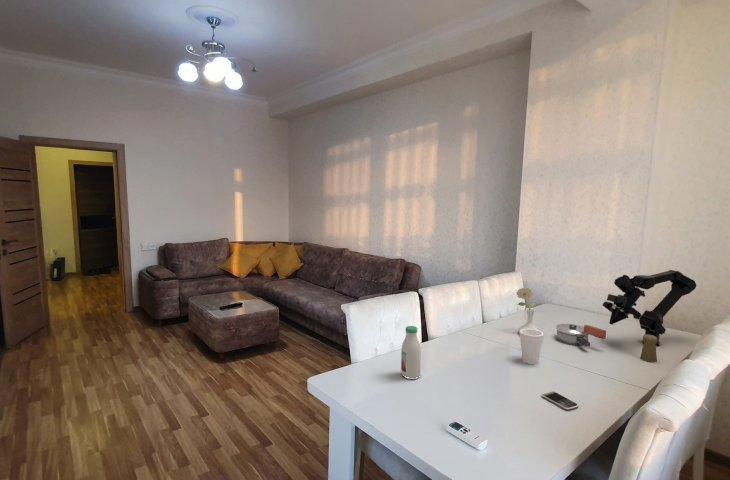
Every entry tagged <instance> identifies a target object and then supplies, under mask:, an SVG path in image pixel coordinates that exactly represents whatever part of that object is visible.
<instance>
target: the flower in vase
mask: <svg viewBox="0 0 730 480" xmlns="http://www.w3.org/2000/svg"><path fill="white" fill-rule="evenodd" d="M515 293H516V296H517V297H518V298H519V299H523V300H524V302H523V301H520V302H518V303H517V306H520V307H524V306H526V308H525V311H526V313H527V322H526V323H525V324H523V325H521V326H520V327H519V328H518V329H517V332H518V333H519V334H520V330H522V329H534V330H538V331H541V330H540V329H539V327H538V326H536V325H535V324H534V323H533V316H534V313H535V312H536V308H533V307H534V306H535V305H536V304H537V302H534V303H529V305H528V304H527V299H530V298H531V297H532V296H533V291H532V289H530V288H529V287H521V288H519V289H518V290H517V291H516V292H515Z"/></svg>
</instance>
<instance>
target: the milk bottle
mask: <svg viewBox="0 0 730 480" xmlns="http://www.w3.org/2000/svg"><path fill="white" fill-rule="evenodd" d="M417 334H418V327H417V326H414V325H407V326H405V338H404V340H403V342H402V344H401V353H400V354H401V359H400V365H401V366H400V375H401V374H402V375H404V376H406V377H409V378H416V377H419V376H420V377H421V372H422V371H421V369H422V368H421V364H422V363H421V360H422V356H421V355H422V352H421V351H422V350H421V349H422V348H421V343H420V341H419V339H418V335H417ZM402 375H401V376H402ZM420 377H419V378H420Z"/></svg>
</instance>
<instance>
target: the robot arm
mask: <svg viewBox="0 0 730 480" xmlns="http://www.w3.org/2000/svg"><path fill="white" fill-rule="evenodd" d="M665 282H670V283H671V285H670V287H671V289H670V291H669V292H668V293H667V294H666V295H665V296H664V297H663V298H662V299H661V300H660V302H659V303H658V304H657V305H656V306H655V307H654V308H653V309H652V310H648V309H647V310H646V309H645V310H644V312H643V313H642V314H641V312H640V311H638V310H637V309H636V308H635V307H637V305H638V304H637V301H638V300H639V299H640V297H644V298H645V297H646V293H645V291H644V290H649V289H652V288H654V287H655V285H658V284H661V283H665ZM613 284H614V285H615V287H617V288H618V289H619V290H620V291H621V292H622V293H623V294H617V295H615V294H612V293H611V294H610V293H609V294H608V295H607V297H606V301H604V302H603V303H602V304H601V305H602V306H603V307H604V308H605V309H607V310H608V311H609V312H610V313H611V314H610V319H609V324H610V325H615V324H616V323H618V322H621V321H623V320H626V319H629V318H630V317H629V316H630V315H632V316H633V319H636V320H639V321H638V322H639V326H640V329H641V330H644V335H653V336H655V337H657V343H656V347H660V345H661V341H660V336H661V335H664V334H665V333H666V327H664V326H663V324H664V317H665V316H666V315H667V314H668V312H669V311H671V309H672V308H673V307H674V306H675V305H676V303H677V302H679V300H680V299H681V298H682V297H683V296H686V295H689V294H690V293H692V292H693V291H694V290H695V289H696V287H697V283H696V282H695V280H694V279H692V278H690V277H688V276H687V275H684V274H683V273H682V272H681V271H679V270H673V269H669V270H667V271H663V272H659V273H655V274H651V275H644V274H640V275H639V274H638V275H633V276H632V277H631V278H630V276H629V275H627V274H623V275H622V276H618V277H617V278H615V279H614V282H613ZM641 289H643V290H641ZM633 306H634V307H633ZM642 344H644V341H643V340H642Z"/></svg>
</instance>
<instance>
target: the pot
mask: <svg viewBox="0 0 730 480" xmlns="http://www.w3.org/2000/svg"><path fill="white" fill-rule="evenodd" d="M589 336H590V335H589V334H588V335H583V336H578V335H570V334H566V333H562V332H560V331H558V330H557V329H556V340H557V341H558V342H560V343H563V344H566V345H569V346H570V345H571V346H575V347H576V346H577V347H578V346H579V347H580V346H581V347H582V346H583V347H584V348H585V347H586V348H588V347H591V342H590V341H589Z"/></svg>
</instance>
